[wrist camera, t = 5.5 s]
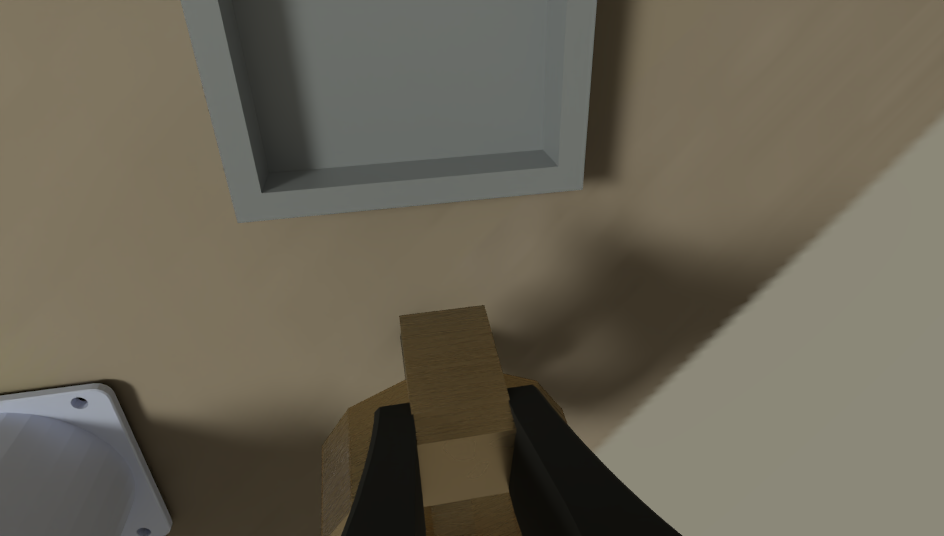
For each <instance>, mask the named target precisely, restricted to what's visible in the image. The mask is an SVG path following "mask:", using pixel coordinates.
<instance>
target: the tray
mask: <svg viewBox="0 0 944 536" xmlns="http://www.w3.org/2000/svg"><path fill="white" fill-rule="evenodd" d="M181 4H182V8H183V12H184V16H185V20H186V23H187V27H188V31H189V35H190V39H191V43H192V47H193V51H194V55H195V58H196V62H197V66H198V70H199V74H200V78H201V82H202V86H203V90H204V93H205V97H206V101H207V105H208V109H209V113H210V117H211V121H212V125H213V128H214V132H215V136H216V140H217V144H218V148H219V152H220V156H221V160H222V164H223V167H224V171H225V175H226V179H227V183H228V187H229V191H230V195H231V199H232V202H233V206H234V210H235V214H236V218H237V222H238V223H243V222H253V221H263V220H274V219H284V218H294V217H304V216H315V215H325V214H335V213H346V212H356V211H366V210H377V209H387V208H397V207H408V206H418V205H428V204H438V203H449V202H459V201H469V200H480V199H490V198H500V197H511V196H521V195H531V194H541V193H552V192H562V191H572V190H583V178H584V164H585V151H586V138H587V125H588V112H589V99H590V85H591V72H592V59H593V46H594V33H595V19H596V6H597V0H181Z"/></svg>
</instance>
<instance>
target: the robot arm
mask: <svg viewBox="0 0 944 536" xmlns="http://www.w3.org/2000/svg"><path fill="white" fill-rule="evenodd" d="M507 391H508V394H509V398H510V400H508V401H509V405H510V409H511V412H512V416H513V420H514V423H515V427H516V435H515V442H514V450H513V458H512V465H511V473H510V481H509V488H508V489H509V493H510V497H511V501H512V505H513V509H514V513H515V516H516V519H517V522H518V525H519V528H520V530H521V533H522V536H682V535H681V534H680V533H678V532H677V531H676V530H675V529H673V528H672V527H671V526H670V525H669V524H667V523H666V522H665V521H664V520H663V519H662V518H660V517H659V516H658V515H657V514H656V513H655V512H654V511H653V510H651V509H650V508H649V507H648V506H647V505H646V504H645V503H644V502H643V501H641V500H640V499H639V498H638V497H637V496H636V495H635V494H634V493H633V492H632V491H631V490H630V489H629V488H628V487H627V486H626V485H624V484H623V483H622V482H621V481H620V480H619V479H618V478H617V477H616V476H615V475H614V474H613V473H612V472H611V471H610V470H609V469H608V468H607V467H606V466H605V465H604V464H603V463H602V462H601V461H600V460H599V458H598V457H597V456H596V455H595V454H594V453H593V452H592V451H591V450H590V449H589V448H588V447H587V446H586V445H585V444H584V443H583V442H582V440H581V439H580V438H579V437H578V436H577V435H576V434H575V433H574V432H573V430H572V429H571V428H570V427H569V426H568V425H567V423H566V422H565V421H564V420H563V419H562V418H561V417H560V415H559V414H558V413H557V412H556V411H555V409H554V408H553V407H552V406H551V405H550V403H549V402H548V401H547V400H546V398H545V397H544V396H543V395H542V393H541V392H540V391H539V389H538V388H537V387H535V386H534V385H533V384H532V385H525V386H518V387H511V388H507ZM77 397H81V398H84V399H86V401H82V400H79V399H78V398H77ZM172 524H173V523H172V519H171V517H170V514H169V512H168V510H167V508H166V506H165V503H164V501H163V499H162V497H161V494H160V492H159V490H158V488H157V486H156V483H155V481H154V479H153V477H152V475H151V472H150V470H149V468H148V466H147V463H146V461H145V459H144V457H143V455H142V452H141V450H140V448H139V446H138V444H137V441H136V439H135V437H134V435H133V432H132V430H131V428H130V426H129V424H128V421H127V419H126V417H125V415H124V412H123V410H122V408H121V406H120V404H119V401H118V399H117V397H116V395H115V393H114V391H113V390H112V388H110V387H109V386H107V385H104V384H101V383H92V384H85V385H77V386H69V387H62V388H54V389H46V390H39V391H31V392H23V393H16V394H8V395H1V396H0V536H165V535H167V534H168V533H169V532H170V530H171V527H172ZM341 536H426V525H425V515H424V506H423V496H422V487H421V477H420V468H419V458H418V450H417V439H416V430H415V423H414V415H413V414H412V415H411V407H410V402H409V403H402V404H395V405H389V406H382V407H379V408H378V409H377V410H376V411H375V412H374V424H373V430H372V436H371V441H370V445H369V450H368V454H367V458H366V462H365V466H364V469H363V472H362V476H361V479H360V482H359V485H358V489H357V492H356V495H355V498H354V502H353V504H352V507H351V510H350V513H349V516H348V518H347V521H346V524H345V526H344V529H343V532H342V534H341Z"/></svg>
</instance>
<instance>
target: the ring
mask: <svg viewBox="0 0 944 536" xmlns="http://www.w3.org/2000/svg"><path fill="white" fill-rule="evenodd" d="M399 317H400V326H401V336H402V345H403V354H404V364H405V373H406V380H404V381H402V382H400V383H398V384H396V385H394V386H392V387H390V388H388V389H386V390H384V391H382V392H380V393H378V394H376V395H374V396H372V397H370V398H368V399H366V400H364V401H362V402H360V403H358V404H356V405H354V406H352V407H350V408H348V410H347V411H346V413H345V414H344V415H343V417H342V418H341V420H340V421H339V422H338V424H337V425H336V427H335V428H334V430H333V431H332V432H331V434H330V435H329V437H328V438H327V440H326V441H325V442H324V444H323V445H322V511H321V536H341V534H342V532H343V529H344V526H345V524H346V521H347V518H348V516H349V513H350V510H351V507H352V504H353V502H354V498H355V495H356V492H357V489H358V485H359V482H360V479H361V476H362V472H363V469H364V466H365V462H366V458H367V454H368V450H369V445H370V441H371V436H372V430H373V424H374V412H375V411H376V410H377V409H378V408H379V407H382V406H389V405H395V404H402V403H409V402H410V407H411V415H412V414H413V415H414V423H415V430H416V439H417V450H418V458H419V468H420V477H421V487H422V496H423V506H424V515H425V525H426V536H522V533H521V530H520V528H519V525H518V522H517V519H516V516H515V513H514V509H513V505H512V501H511V497H510V493H509V489H508V488H509V481H510V473H511V465H512V458H513V450H514V442H515V435H516V427H515V423H514V420H513V416H512V412H511V409H510V405H509V401H508V400H510V398H509V394H508V391H507V388H511V387H518V386H525V385H532V384H533V385H534V386H535V387H537V388H538V389H539V391H540V392H541V393H542V395H543V396H544V397H545V398H546V400H547V401H548V402H549V403H550V405H551V406H552V407H553V408H554V409H555V411H556V412H557V413H558V414H559V415H560V417H561V418H562V419H563V420H564V421H565V422H566V419H565V416H564V413H563V410H562V408H561V407H560V406H559V405H558V404H557V403H556V402H555V401H554V400H553V399H552V397H551V396H550V395H549V394H548V393H547V392H546V391H545V390H544V389H543V388H542V386H541V385H540V384H539V383H538V382H537V381H535V380H530V379H526V378H521V377H517V376H512V375H508V374H503V372H502V369H501V365H500V361H499V358H498V354H497V350H496V347H495V343H494V339H493V336H492V332H491V328H490V325H489V321H488V317H487V314H486V310H485V306H484V305H481V306H473V307H465V308H457V309H449V310H441V311H433V312H425V313H417V314H409V315H401V316H399ZM566 423H567V422H566Z"/></svg>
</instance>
